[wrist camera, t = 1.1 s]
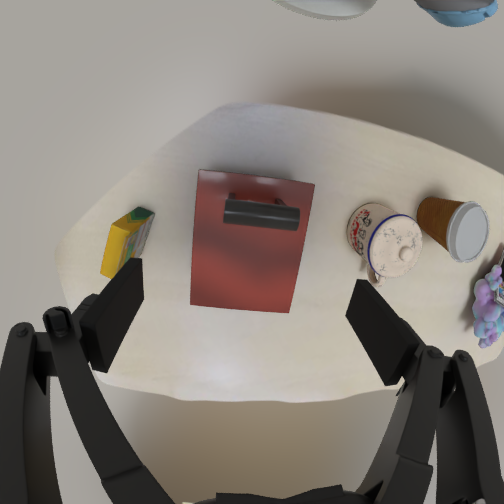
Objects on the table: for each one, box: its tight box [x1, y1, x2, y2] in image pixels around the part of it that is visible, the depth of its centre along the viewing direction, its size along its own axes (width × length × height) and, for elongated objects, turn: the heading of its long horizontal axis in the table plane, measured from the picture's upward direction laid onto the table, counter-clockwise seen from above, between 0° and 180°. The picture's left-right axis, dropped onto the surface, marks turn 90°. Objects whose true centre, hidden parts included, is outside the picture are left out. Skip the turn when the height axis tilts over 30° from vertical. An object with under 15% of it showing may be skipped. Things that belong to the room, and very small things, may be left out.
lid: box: [190, 169, 315, 313], centre depth 28 cm, size 16×13×9 cm
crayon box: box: [100, 207, 155, 279], centre depth 34 cm, size 7×3×12 cm, turn 154°
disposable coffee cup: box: [417, 197, 489, 262], centre depth 36 cm, size 10×10×12 cm
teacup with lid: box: [347, 203, 422, 287], centre depth 37 cm, size 12×9×12 cm
